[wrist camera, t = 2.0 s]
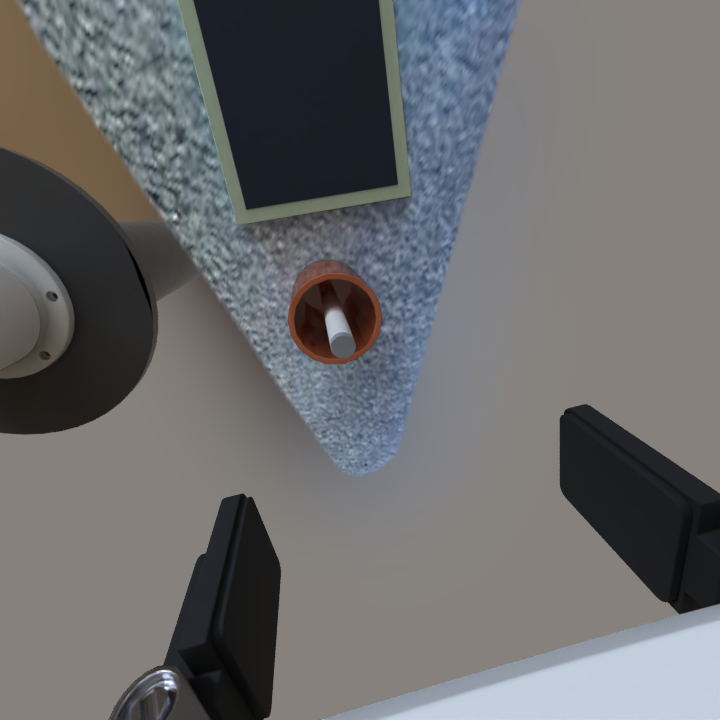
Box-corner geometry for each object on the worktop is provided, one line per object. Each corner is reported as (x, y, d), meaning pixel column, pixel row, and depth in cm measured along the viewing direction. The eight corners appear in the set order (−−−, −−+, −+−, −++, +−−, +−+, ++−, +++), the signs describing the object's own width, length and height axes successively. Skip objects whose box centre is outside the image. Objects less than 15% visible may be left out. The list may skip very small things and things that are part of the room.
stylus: (322, 307, 33) (333, 361, 21) (319, 291, 32) (328, 337, 20) (338, 304, 33) (357, 356, 21) (335, 288, 32) (353, 332, 20)
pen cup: (300, 338, 34) (299, 372, 27) (284, 266, 31) (278, 282, 24) (369, 325, 34) (387, 355, 27) (358, 253, 32) (374, 264, 25)
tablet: (239, 225, 30) (236, 225, 29) (158, -81, 23) (151, -94, 22) (408, 196, 31) (411, 196, 30) (379, -105, 24) (382, -119, 23)
